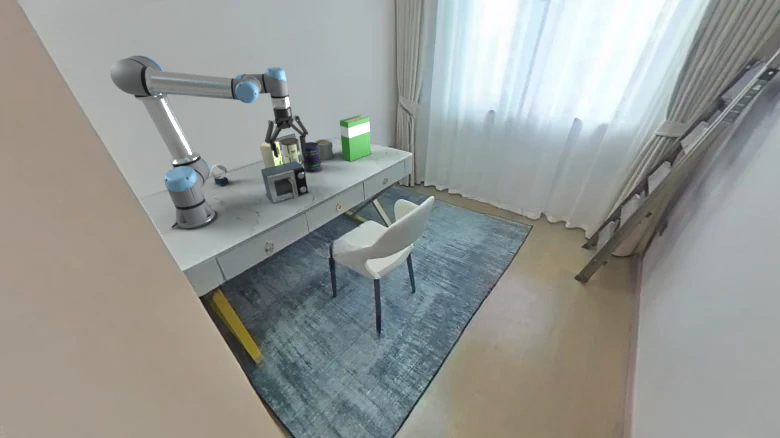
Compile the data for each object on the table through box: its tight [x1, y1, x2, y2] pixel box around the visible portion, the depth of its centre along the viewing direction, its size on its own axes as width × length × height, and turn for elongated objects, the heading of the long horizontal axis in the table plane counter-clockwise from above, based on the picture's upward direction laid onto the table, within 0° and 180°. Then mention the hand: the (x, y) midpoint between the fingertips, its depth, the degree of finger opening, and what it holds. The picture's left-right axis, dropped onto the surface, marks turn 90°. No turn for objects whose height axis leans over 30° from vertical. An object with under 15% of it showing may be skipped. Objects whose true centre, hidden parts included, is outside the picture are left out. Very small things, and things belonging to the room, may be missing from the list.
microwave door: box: [267, 170, 299, 204], centre depth 152 cm, size 8×13×14 cm, turn 125°
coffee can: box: [280, 137, 303, 165], centre depth 192 cm, size 10×10×14 cm
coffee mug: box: [315, 138, 334, 161], centre depth 203 cm, size 13×10×10 cm
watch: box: [209, 163, 230, 187], centre depth 169 cm, size 6×8×11 cm
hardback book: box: [339, 114, 372, 162], centre depth 199 cm, size 18×7×24 cm, turn 138°
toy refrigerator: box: [259, 140, 284, 169], centre depth 170 cm, size 8×7×21 cm
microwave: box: [260, 161, 309, 201], centre depth 159 cm, size 11×18×14 cm, turn 125°
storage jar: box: [300, 141, 322, 174], centre depth 184 cm, size 10×10×15 cm
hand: (290, 153), depth 149 cm, fingers open, 13 cm apart
